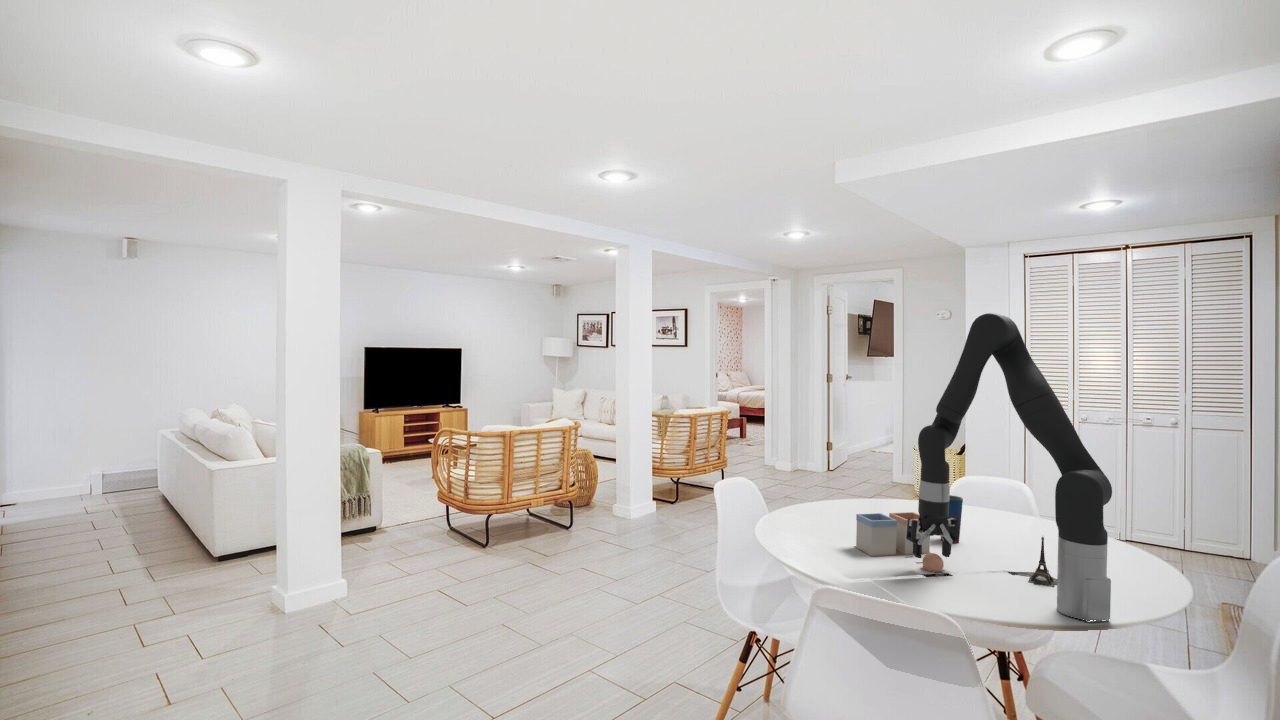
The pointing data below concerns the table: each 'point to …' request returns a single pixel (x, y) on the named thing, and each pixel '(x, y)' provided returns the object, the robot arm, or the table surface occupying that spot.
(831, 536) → the table surface
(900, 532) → the tube terracotta
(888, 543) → the tube slate
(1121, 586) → the table surface
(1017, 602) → the table surface
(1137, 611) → the table surface
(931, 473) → the robot arm
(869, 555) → the tube board
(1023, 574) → the eiffel tower figurine
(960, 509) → the cup
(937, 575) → the mat
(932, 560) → the ball terracotta
